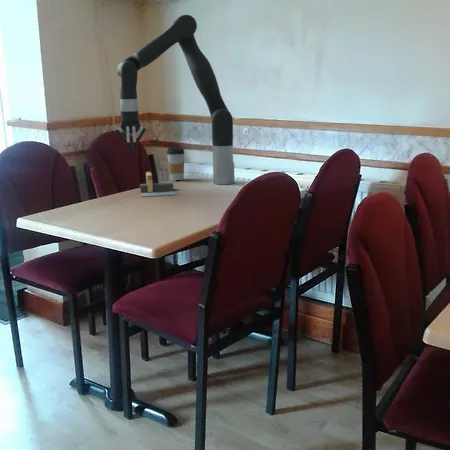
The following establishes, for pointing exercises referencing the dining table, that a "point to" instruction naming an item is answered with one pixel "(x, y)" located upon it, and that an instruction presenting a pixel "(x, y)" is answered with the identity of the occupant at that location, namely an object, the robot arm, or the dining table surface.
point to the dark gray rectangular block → (157, 187)
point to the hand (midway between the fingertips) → (132, 150)
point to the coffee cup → (176, 163)
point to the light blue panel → (157, 194)
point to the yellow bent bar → (149, 181)
